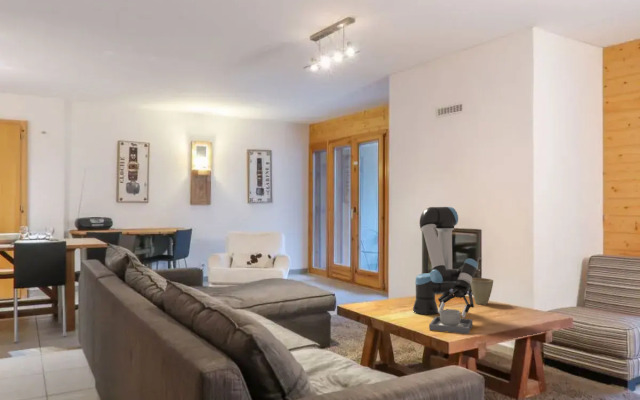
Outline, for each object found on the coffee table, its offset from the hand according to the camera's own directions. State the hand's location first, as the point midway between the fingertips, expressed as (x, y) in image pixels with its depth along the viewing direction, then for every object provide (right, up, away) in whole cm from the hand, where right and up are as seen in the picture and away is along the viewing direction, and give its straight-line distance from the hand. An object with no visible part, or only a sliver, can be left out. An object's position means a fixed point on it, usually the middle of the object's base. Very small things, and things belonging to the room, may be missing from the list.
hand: (450, 314), depth 266 cm
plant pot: (+38, -8, +64) cm, 75 cm away
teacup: (0, -6, +1) cm, 6 cm away
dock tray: (0, -7, +1) cm, 7 cm away
